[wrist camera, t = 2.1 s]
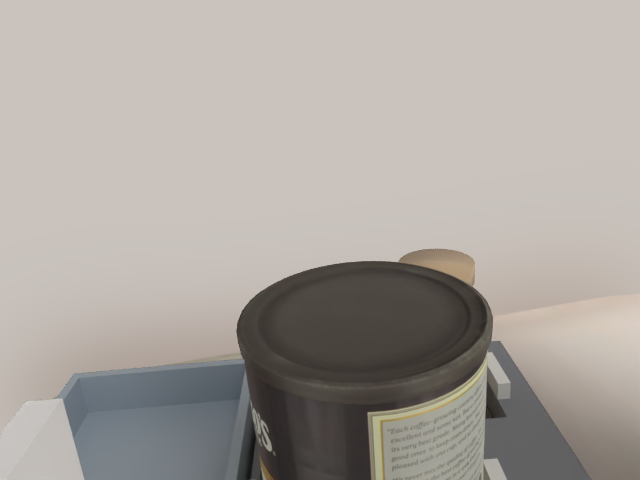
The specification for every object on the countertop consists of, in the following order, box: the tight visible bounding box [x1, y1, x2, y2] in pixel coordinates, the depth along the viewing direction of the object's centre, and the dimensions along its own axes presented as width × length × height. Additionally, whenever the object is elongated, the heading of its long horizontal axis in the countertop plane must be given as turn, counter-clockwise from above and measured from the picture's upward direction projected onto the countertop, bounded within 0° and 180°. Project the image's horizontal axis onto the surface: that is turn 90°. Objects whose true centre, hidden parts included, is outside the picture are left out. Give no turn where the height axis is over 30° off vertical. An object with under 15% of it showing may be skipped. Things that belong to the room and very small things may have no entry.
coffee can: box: [237, 261, 493, 480], centre depth 24 cm, size 10×10×14 cm
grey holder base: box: [251, 341, 591, 480], centre depth 30 cm, size 18×22×3 cm
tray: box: [56, 359, 256, 480], centre depth 33 cm, size 13×13×4 cm
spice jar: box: [398, 249, 475, 287], centre depth 34 cm, size 5×5×11 cm
